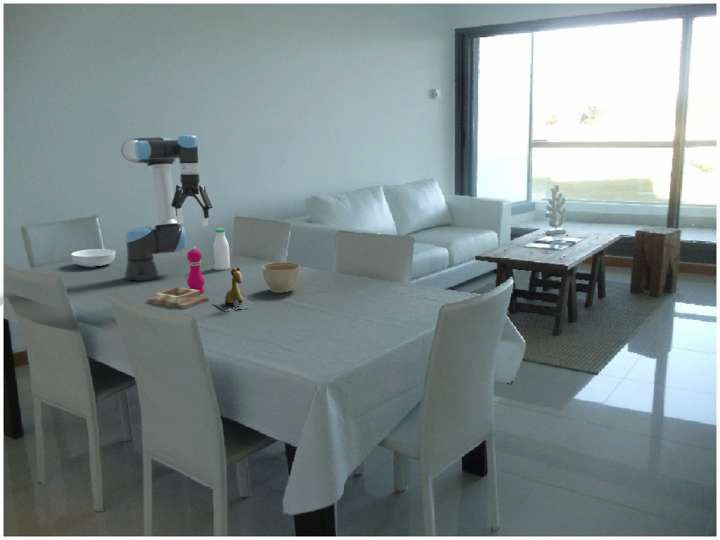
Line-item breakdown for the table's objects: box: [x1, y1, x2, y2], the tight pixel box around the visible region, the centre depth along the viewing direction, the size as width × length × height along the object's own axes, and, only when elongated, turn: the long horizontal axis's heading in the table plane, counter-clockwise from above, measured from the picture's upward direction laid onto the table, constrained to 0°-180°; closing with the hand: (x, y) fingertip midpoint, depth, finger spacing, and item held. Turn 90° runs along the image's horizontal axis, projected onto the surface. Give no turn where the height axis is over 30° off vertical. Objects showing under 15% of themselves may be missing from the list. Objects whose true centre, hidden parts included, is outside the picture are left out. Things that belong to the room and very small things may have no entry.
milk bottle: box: [212, 227, 231, 271], centre depth 333 cm, size 8×8×20 cm
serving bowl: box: [70, 248, 116, 268], centre depth 342 cm, size 21×21×7 cm
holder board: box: [146, 286, 210, 310], centre depth 273 cm, size 20×14×4 cm
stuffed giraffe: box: [210, 266, 252, 312], centre depth 268 cm, size 16×18×16 cm
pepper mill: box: [186, 245, 206, 294], centre depth 286 cm, size 7×7×20 cm
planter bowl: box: [261, 261, 301, 294], centre depth 290 cm, size 16×16×11 cm
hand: (192, 225), depth 282 cm, fingers open, 13 cm apart
